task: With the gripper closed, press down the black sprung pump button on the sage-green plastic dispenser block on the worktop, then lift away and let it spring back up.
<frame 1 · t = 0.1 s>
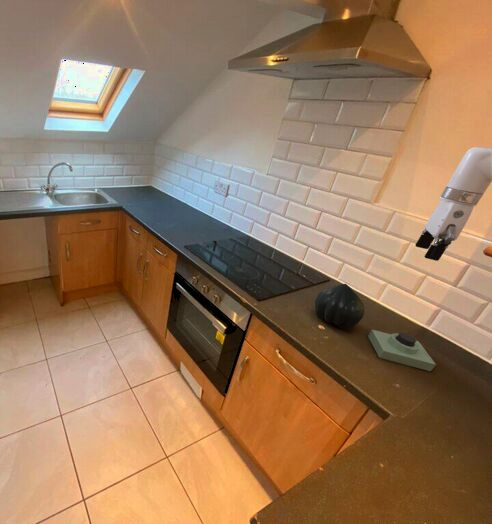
hand: (425, 253, 89), 33 cm above the countertop, tool pointing down, fingers open, 9 cm apart
squash: (331, 320, 111), on the countertop
dispenser: (397, 352, 98), on the countertop
pump: (405, 339, 95), point 6 cm above the countertop, slide at 0.1 cm
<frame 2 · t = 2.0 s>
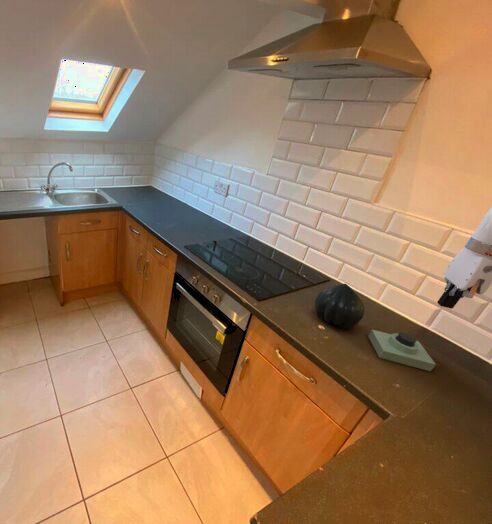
hand: (444, 305, 86), 21 cm above the countertop, tool pointing down, fingers closed
nothing on the countertop moved.
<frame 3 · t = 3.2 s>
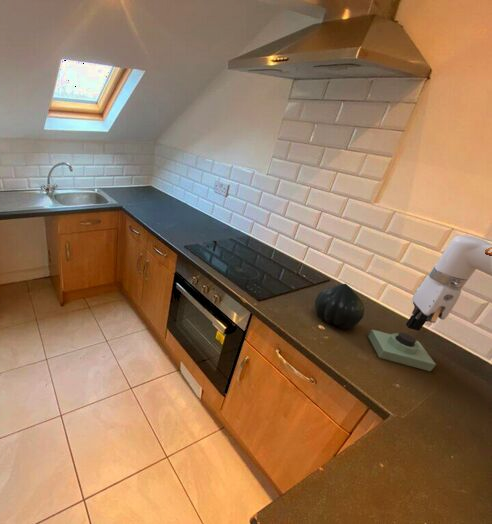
hand: (412, 327, 93), 10 cm above the countertop, tool pointing down, fingers closed
nothing on the countertop moved.
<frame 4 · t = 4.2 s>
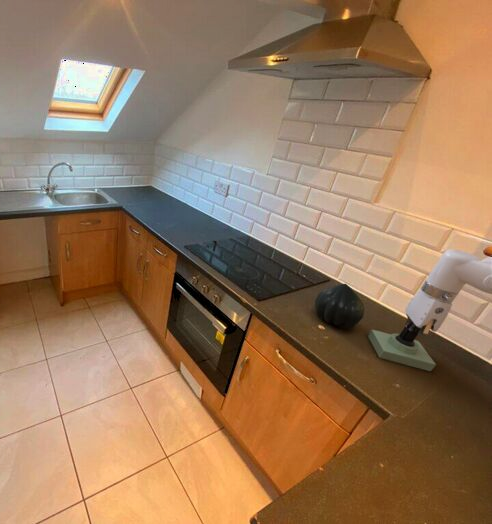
hand: (405, 338, 95), 6 cm above the countertop, tool pointing down, fingers closed
pump: (404, 341, 96), point 5 cm above the countertop, slide at -0.8 cm, touching gripper
everything else where it was.
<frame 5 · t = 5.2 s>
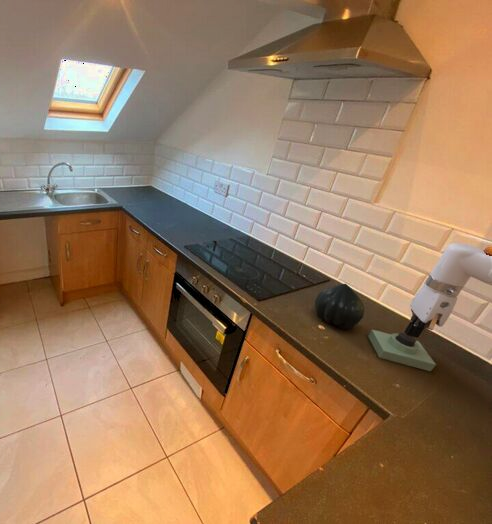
hand: (410, 334, 94), 8 cm above the countertop, tool pointing down, fingers closed
pump: (405, 339, 95), point 6 cm above the countertop, slide at 0.1 cm
everything else where it was.
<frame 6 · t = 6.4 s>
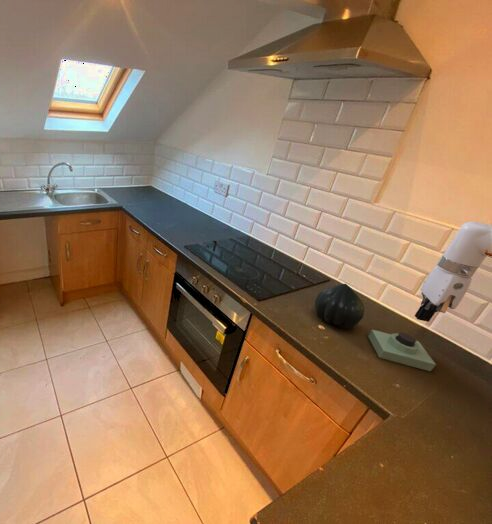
hand: (421, 318, 91), 14 cm above the countertop, tool pointing down, fingers closed
nothing on the countertop moved.
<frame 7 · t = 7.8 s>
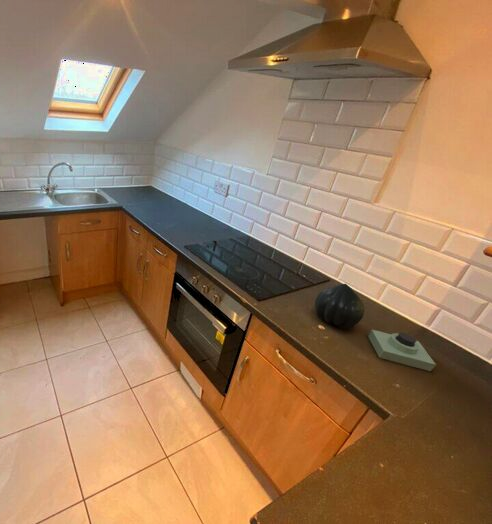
nothing on the countertop moved.
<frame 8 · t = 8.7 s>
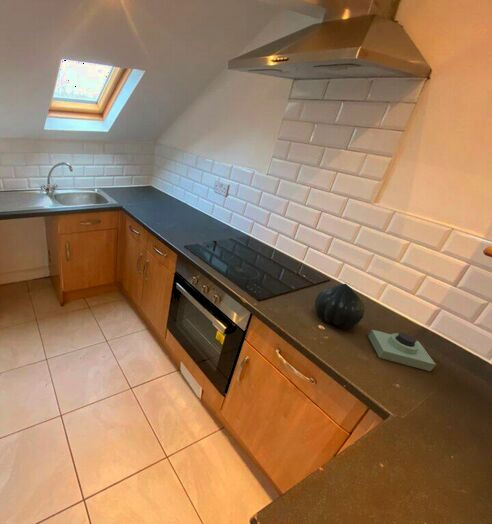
nothing on the countertop moved.
at the end: pump pushed in 1.3 cm at the most during the clip, back to where it started at the end; pump slide at 0.1 cm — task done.
